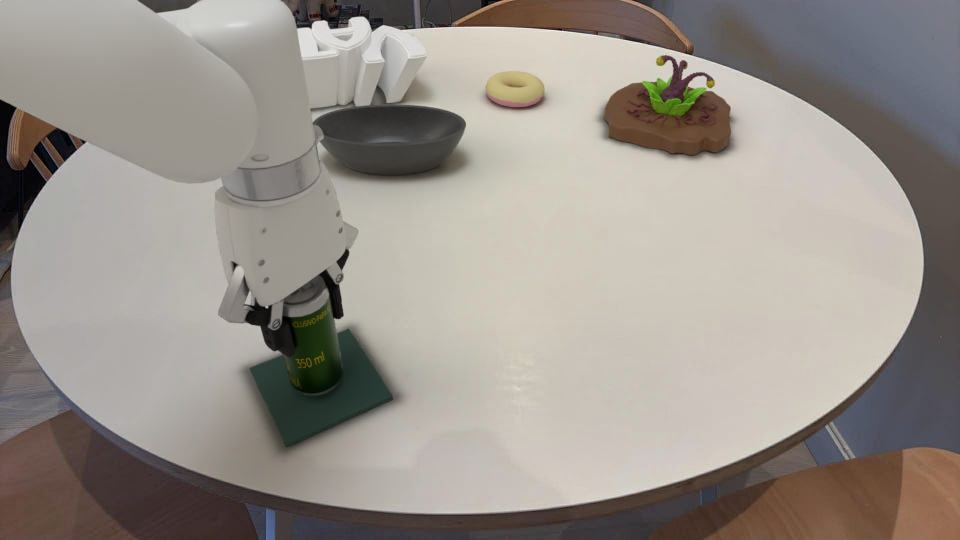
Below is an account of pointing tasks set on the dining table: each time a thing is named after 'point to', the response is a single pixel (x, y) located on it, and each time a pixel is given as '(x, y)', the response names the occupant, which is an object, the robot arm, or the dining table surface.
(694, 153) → the plant
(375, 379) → the front mat
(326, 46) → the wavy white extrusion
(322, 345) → the beer can
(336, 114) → the bowl
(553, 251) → the dining table surface
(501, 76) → the donut
